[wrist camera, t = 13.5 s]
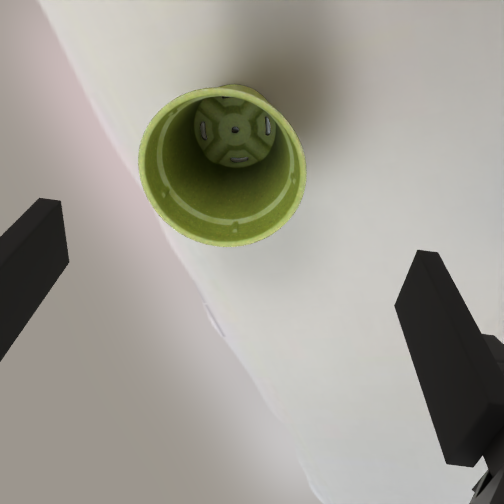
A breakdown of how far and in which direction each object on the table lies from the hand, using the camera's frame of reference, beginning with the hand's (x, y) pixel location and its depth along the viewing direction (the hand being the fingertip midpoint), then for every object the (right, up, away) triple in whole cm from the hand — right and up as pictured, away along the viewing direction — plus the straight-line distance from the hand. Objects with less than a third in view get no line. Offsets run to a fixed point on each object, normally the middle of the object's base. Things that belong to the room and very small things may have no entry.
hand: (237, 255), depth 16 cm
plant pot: (-1, +9, +15) cm, 18 cm away
